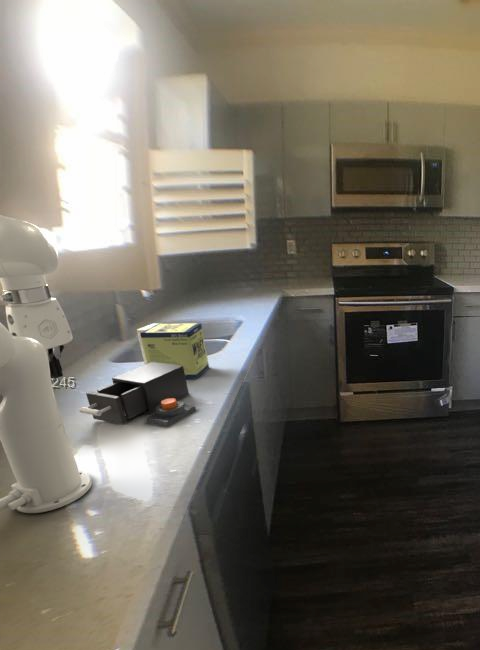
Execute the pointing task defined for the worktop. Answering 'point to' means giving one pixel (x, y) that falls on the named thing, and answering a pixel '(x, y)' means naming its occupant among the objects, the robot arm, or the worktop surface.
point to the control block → (170, 414)
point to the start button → (169, 403)
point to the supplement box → (141, 339)
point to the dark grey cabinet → (157, 382)
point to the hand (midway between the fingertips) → (55, 376)
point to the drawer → (116, 402)
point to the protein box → (177, 347)
